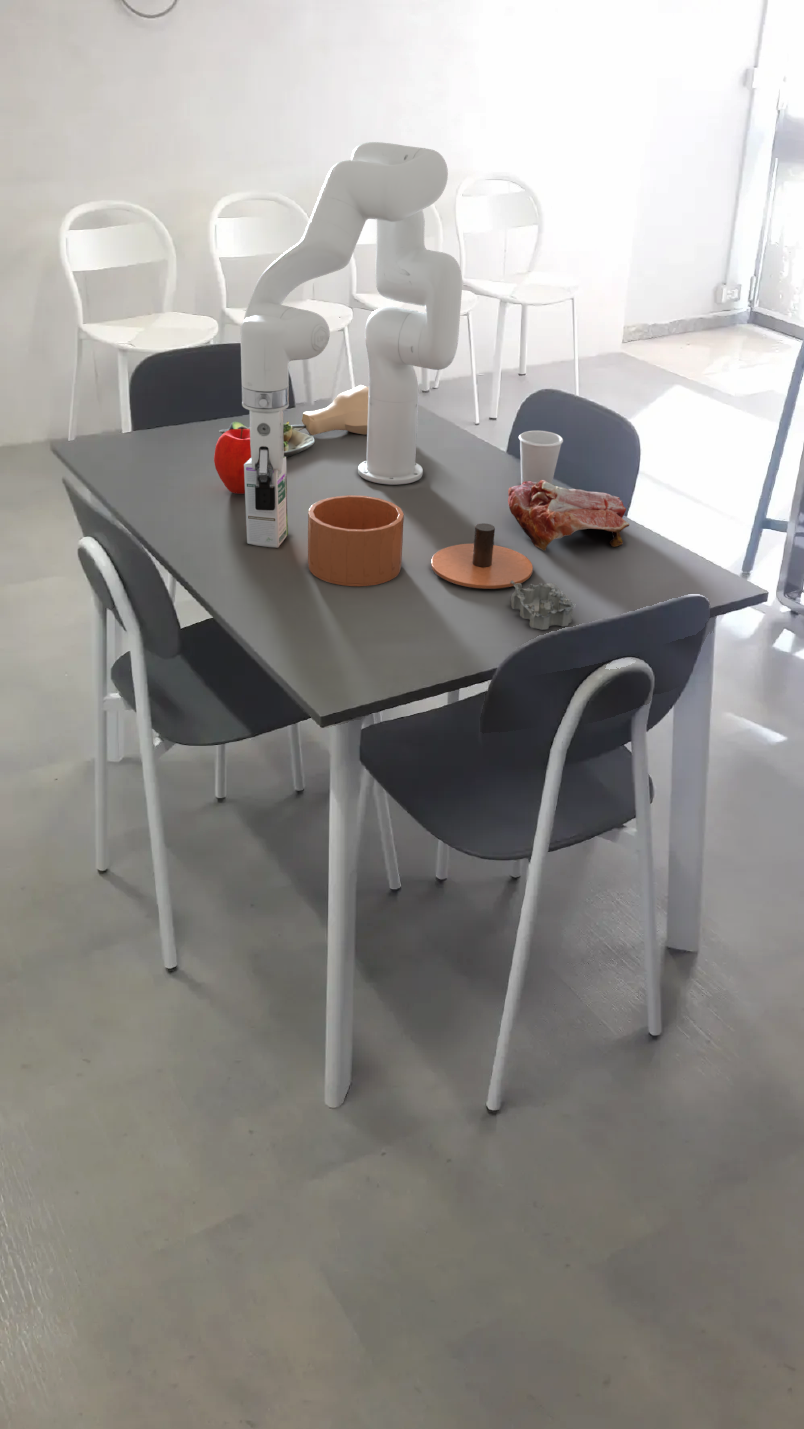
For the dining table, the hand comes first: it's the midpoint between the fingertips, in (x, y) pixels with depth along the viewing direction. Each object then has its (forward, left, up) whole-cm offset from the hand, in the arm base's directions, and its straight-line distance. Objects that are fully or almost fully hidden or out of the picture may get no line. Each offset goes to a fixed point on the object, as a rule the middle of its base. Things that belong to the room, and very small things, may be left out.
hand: (266, 500), depth 212 cm
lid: (+10, +36, -7) cm, 38 cm away
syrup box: (0, 0, -7) cm, 7 cm away
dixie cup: (-29, +50, -7) cm, 58 cm away
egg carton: (+26, +44, -7) cm, 52 cm away
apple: (-22, -6, -7) cm, 24 cm away
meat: (-8, +53, -7) cm, 54 cm away
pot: (+10, +15, -7) cm, 19 cm away
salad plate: (-48, -3, -7) cm, 49 cm away
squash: (-59, +14, -7) cm, 61 cm away
